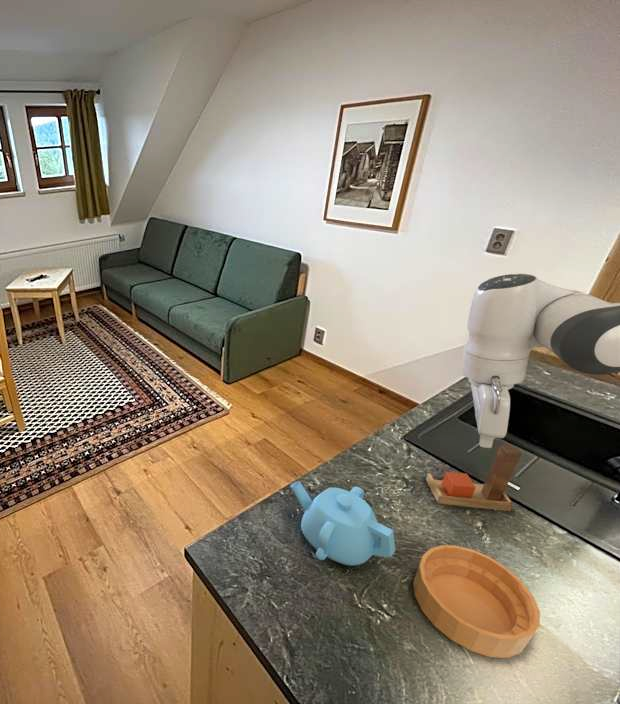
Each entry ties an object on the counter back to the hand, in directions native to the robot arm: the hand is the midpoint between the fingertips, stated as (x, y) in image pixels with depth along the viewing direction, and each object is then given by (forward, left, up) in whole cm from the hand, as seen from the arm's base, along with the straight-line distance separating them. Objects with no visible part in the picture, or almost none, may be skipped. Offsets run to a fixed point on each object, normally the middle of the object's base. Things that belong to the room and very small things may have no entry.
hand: (482, 432), depth 76 cm
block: (-1, -2, -18) cm, 18 cm away
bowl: (+17, +18, -19) cm, 31 cm away
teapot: (+30, +1, -19) cm, 35 cm away
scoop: (-3, -1, -19) cm, 19 cm away
